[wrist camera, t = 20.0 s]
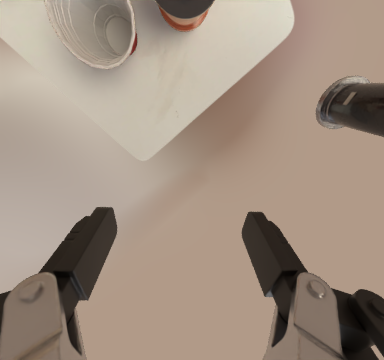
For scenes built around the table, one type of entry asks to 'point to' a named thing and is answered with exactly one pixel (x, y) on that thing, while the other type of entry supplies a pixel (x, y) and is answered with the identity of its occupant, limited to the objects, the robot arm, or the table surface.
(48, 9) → the plastic cup
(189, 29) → the cup stand
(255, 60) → the table surface
